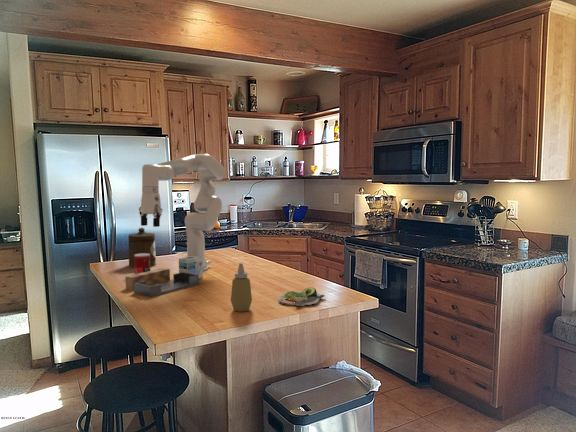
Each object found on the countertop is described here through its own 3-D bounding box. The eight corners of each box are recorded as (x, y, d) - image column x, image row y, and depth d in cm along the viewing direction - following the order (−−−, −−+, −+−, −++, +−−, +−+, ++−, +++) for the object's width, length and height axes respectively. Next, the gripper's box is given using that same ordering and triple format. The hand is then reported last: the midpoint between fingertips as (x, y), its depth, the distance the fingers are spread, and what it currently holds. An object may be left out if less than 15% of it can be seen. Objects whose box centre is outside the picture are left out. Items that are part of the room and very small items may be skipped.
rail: (163, 279, 213) (163, 267, 213) (170, 280, 211) (169, 268, 211) (126, 289, 195) (125, 276, 195) (132, 290, 193) (131, 277, 192)
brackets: (182, 281, 209) (182, 272, 209) (199, 284, 202) (198, 275, 202) (133, 293, 187) (133, 282, 187) (150, 297, 180) (150, 286, 180)
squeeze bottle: (231, 307, 166) (230, 261, 165) (252, 306, 167) (251, 261, 166) (230, 313, 158) (229, 265, 157) (252, 312, 159) (251, 265, 158)
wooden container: (159, 265, 247) (158, 228, 245) (132, 268, 238) (131, 229, 236) (151, 261, 259) (150, 225, 257) (126, 264, 251) (124, 227, 249)
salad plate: (316, 311, 162) (316, 299, 162) (272, 307, 167) (272, 296, 167) (326, 297, 181) (326, 286, 180) (285, 294, 185) (285, 284, 185)
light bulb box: (188, 281, 209) (187, 259, 208) (178, 279, 212) (178, 258, 211) (203, 277, 218) (203, 256, 217) (193, 275, 221) (193, 255, 220)
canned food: (145, 277, 218) (145, 256, 217) (131, 276, 219) (131, 255, 218) (153, 274, 225) (152, 253, 224) (139, 273, 227) (139, 252, 226)
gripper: (168, 190, 202) (167, 226, 203) (146, 190, 213) (146, 224, 213) (154, 190, 196) (154, 227, 197) (132, 190, 207) (132, 225, 207)
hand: (150, 226), depth 205 cm, fingers open, 9 cm apart
